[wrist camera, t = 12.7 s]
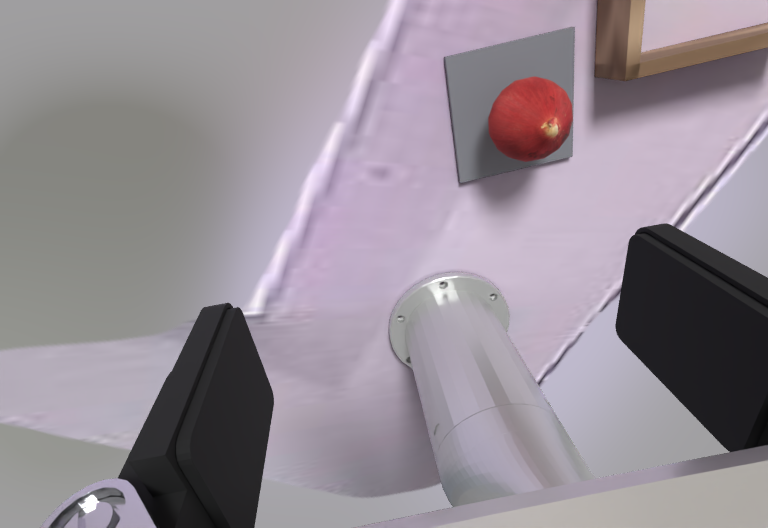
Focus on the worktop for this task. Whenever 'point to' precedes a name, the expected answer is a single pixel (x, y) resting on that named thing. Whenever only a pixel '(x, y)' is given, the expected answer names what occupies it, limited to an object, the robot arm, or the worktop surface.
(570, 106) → the onion
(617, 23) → the tan u-shaped frame
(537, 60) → the mat
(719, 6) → the worktop surface
